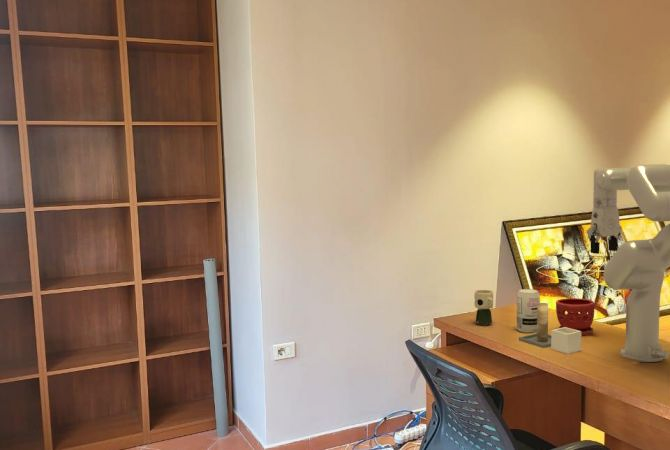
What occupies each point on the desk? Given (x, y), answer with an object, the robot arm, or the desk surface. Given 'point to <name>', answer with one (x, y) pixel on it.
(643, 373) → the desk surface
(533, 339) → the tray
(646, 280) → the robot arm
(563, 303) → the plant pot
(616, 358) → the desk surface
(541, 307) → the dowel
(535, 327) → the supplement can
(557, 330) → the white open square box
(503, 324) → the desk surface
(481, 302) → the character mug
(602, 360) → the desk surface
